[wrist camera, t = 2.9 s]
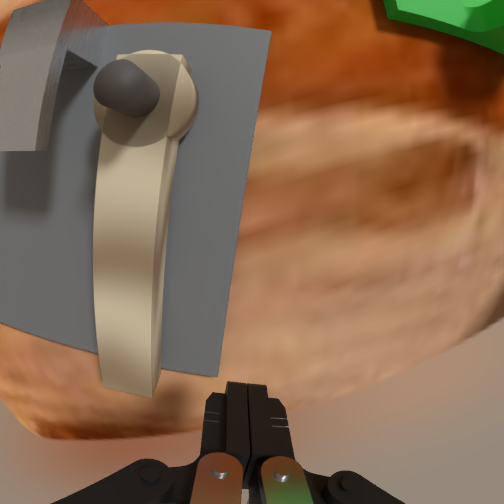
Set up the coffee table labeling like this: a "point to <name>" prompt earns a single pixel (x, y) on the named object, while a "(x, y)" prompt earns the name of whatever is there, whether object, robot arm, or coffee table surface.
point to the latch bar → (135, 208)
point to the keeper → (42, 66)
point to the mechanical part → (455, 18)
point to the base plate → (181, 208)
